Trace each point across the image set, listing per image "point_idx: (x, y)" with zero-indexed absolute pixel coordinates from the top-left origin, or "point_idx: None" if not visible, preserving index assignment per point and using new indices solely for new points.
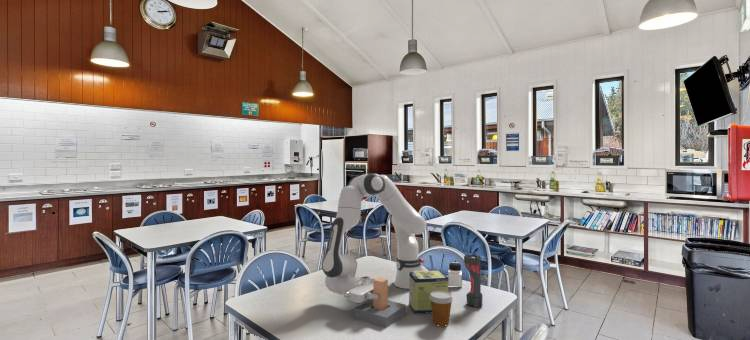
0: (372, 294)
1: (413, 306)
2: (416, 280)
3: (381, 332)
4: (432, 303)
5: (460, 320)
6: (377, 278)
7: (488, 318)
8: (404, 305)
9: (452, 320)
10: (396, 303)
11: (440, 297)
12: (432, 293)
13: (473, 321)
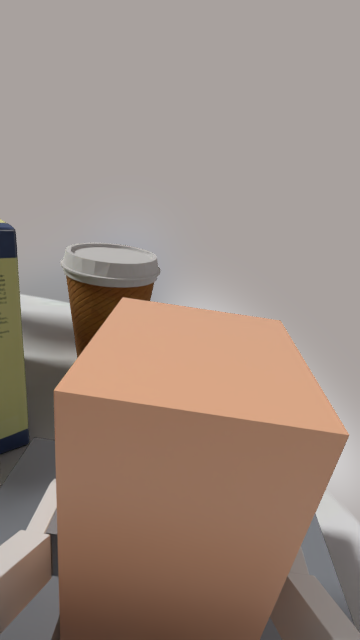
0: (334, 602)
1: (1, 424)
2: (14, 239)
3: (350, 526)
4: (142, 294)
5: (62, 329)
6: (169, 398)
7: (31, 296)
8: (50, 442)
9: (69, 340)
10: (15, 505)
11: (137, 257)
12: (103, 264)
13: (61, 313)
